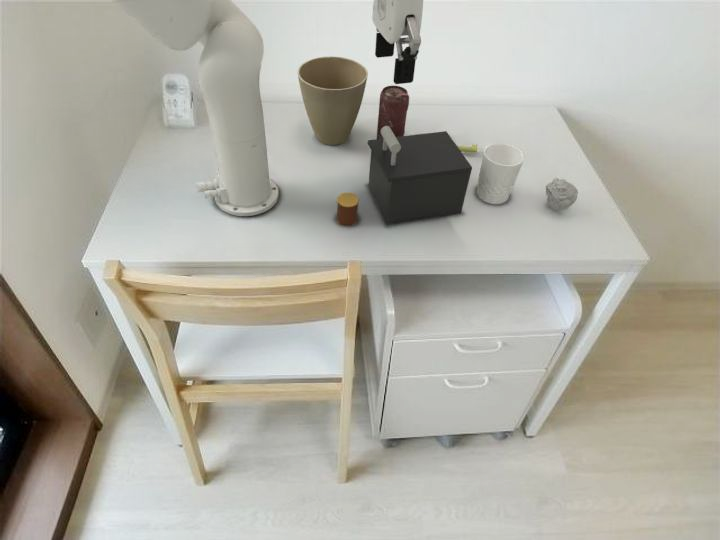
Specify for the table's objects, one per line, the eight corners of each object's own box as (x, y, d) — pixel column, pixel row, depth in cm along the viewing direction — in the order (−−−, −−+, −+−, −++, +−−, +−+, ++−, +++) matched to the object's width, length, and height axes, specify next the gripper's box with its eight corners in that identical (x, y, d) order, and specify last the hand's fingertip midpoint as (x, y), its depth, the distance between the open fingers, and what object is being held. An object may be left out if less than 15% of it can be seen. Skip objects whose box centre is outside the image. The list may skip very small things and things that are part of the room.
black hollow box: (386, 225, 101) (391, 181, 94) (368, 185, 110) (371, 143, 102) (460, 213, 105) (471, 171, 97) (437, 176, 113) (445, 134, 106)
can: (401, 157, 117) (408, 100, 107) (373, 153, 118) (378, 95, 108) (405, 143, 122) (412, 86, 111) (378, 139, 122) (383, 82, 112)
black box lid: (387, 182, 94) (390, 155, 89) (367, 143, 102) (369, 117, 98) (471, 171, 97) (478, 145, 93) (445, 134, 106) (450, 109, 102)
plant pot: (291, 126, 124) (288, 61, 113) (349, 116, 129) (351, 52, 117) (312, 160, 115) (311, 93, 103) (373, 148, 119) (379, 83, 108)
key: (478, 157, 119) (480, 149, 117) (426, 158, 118) (427, 150, 116) (470, 140, 124) (472, 132, 122) (420, 141, 123) (421, 133, 121)
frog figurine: (532, 200, 109) (543, 173, 104) (562, 197, 110) (573, 169, 105) (546, 219, 105) (558, 192, 100) (577, 215, 106) (590, 188, 101)
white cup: (465, 191, 110) (475, 151, 103) (489, 178, 114) (501, 138, 106) (494, 211, 106) (507, 170, 99) (518, 197, 110) (532, 156, 102)
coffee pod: (339, 227, 100) (340, 207, 96) (334, 213, 103) (334, 193, 99) (360, 224, 101) (361, 204, 97) (354, 211, 104) (355, 191, 100)
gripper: (361, -63, 79) (357, 48, 91) (398, -26, 68) (388, 96, 80) (407, -65, 81) (397, 45, 93) (451, -29, 69) (433, 91, 82)
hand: (393, 68), depth 87 cm, fingers open, 9 cm apart
